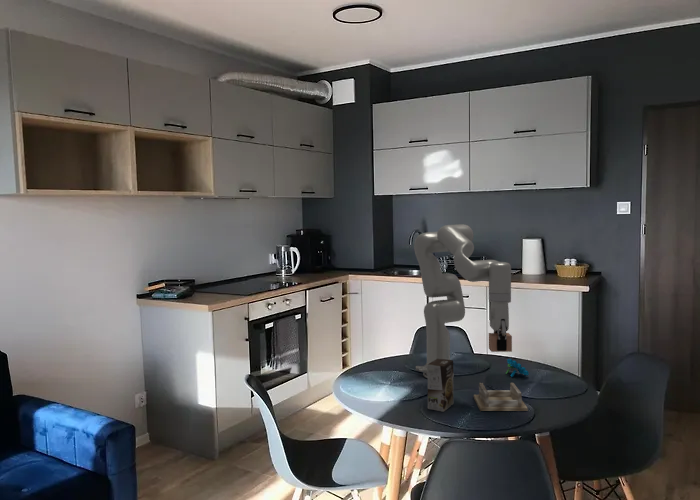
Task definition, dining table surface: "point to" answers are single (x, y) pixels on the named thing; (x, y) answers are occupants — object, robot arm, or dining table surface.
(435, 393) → the coffee box
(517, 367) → the toy dinosaur
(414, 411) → the dining table surface
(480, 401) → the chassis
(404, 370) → the dining table surface
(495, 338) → the brown block
